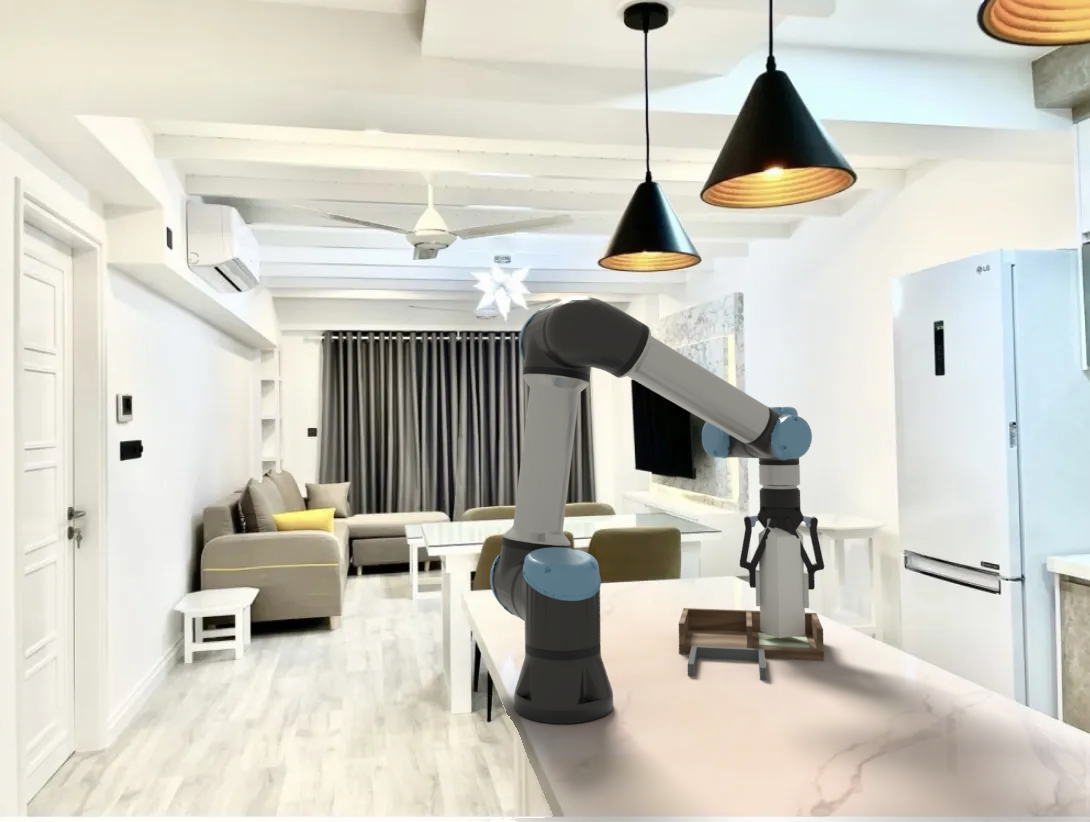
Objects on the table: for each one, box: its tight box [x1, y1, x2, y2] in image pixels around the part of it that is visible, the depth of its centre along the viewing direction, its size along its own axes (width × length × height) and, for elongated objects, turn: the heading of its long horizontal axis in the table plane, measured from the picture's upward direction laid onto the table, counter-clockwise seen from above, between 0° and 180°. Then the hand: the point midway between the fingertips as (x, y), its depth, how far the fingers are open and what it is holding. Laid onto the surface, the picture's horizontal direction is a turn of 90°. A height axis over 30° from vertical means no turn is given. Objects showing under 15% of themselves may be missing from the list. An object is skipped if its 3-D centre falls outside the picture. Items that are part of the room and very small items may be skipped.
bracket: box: [687, 645, 767, 681], centre depth 142 cm, size 12×13×2 cm
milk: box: [758, 519, 806, 638], centre depth 154 cm, size 6×6×22 cm
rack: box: [678, 607, 825, 662], centre depth 155 cm, size 14×26×6 cm, turn 76°
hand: (782, 605), depth 154 cm, fingers closed on milk, 8 cm apart
